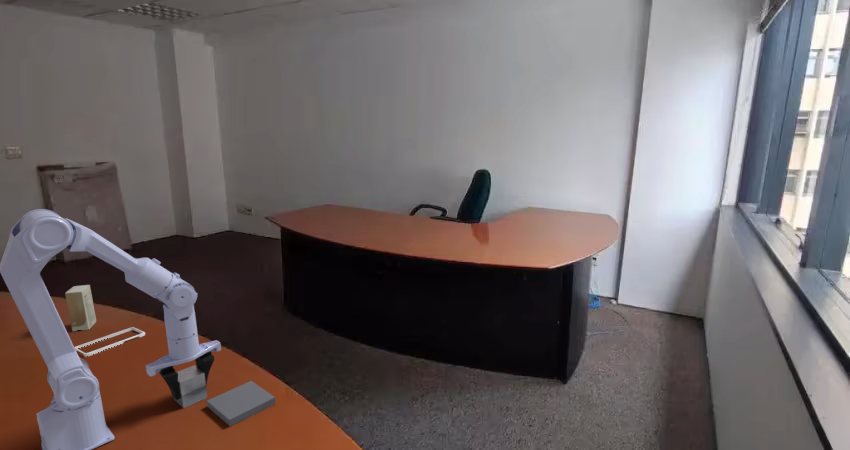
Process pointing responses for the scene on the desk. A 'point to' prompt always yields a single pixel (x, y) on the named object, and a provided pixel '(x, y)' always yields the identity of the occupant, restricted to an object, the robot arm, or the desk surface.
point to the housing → (191, 386)
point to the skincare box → (80, 307)
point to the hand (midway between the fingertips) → (189, 391)
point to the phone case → (111, 344)
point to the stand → (240, 403)
